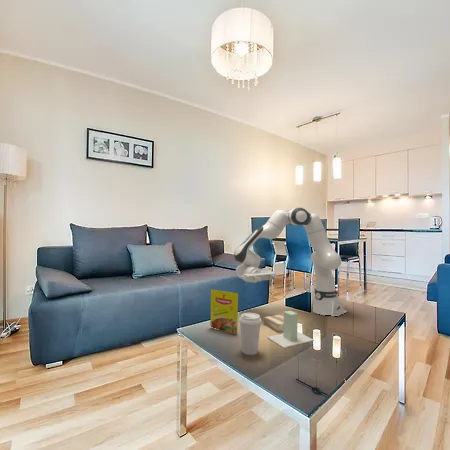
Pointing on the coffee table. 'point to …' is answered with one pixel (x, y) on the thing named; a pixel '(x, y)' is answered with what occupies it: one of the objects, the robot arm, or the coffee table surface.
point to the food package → (224, 311)
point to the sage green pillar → (290, 325)
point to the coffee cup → (250, 332)
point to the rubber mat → (286, 343)
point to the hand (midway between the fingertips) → (268, 278)
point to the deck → (275, 322)
